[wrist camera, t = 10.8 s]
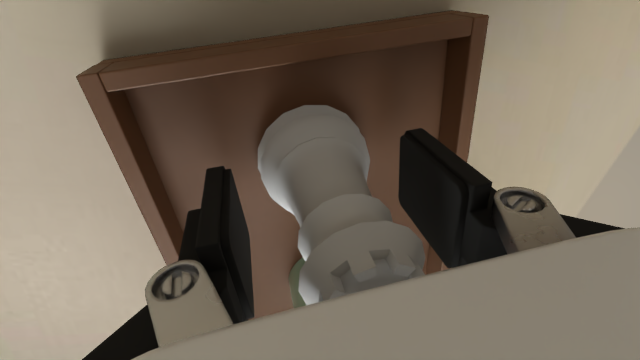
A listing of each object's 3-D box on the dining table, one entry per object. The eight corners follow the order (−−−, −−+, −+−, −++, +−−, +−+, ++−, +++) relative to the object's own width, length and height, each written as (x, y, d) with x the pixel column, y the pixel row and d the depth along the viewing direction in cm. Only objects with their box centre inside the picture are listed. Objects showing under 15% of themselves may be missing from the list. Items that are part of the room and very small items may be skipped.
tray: (452, 10, 13) (490, 14, 11) (419, 355, 26) (434, 386, 24) (101, 60, 12) (74, 75, 10) (249, 404, 24) (250, 441, 22)
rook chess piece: (362, 184, 16) (459, 338, 9) (268, 205, 15) (294, 386, 8) (357, 91, 13) (483, 203, 7) (244, 111, 13) (255, 258, 6)
